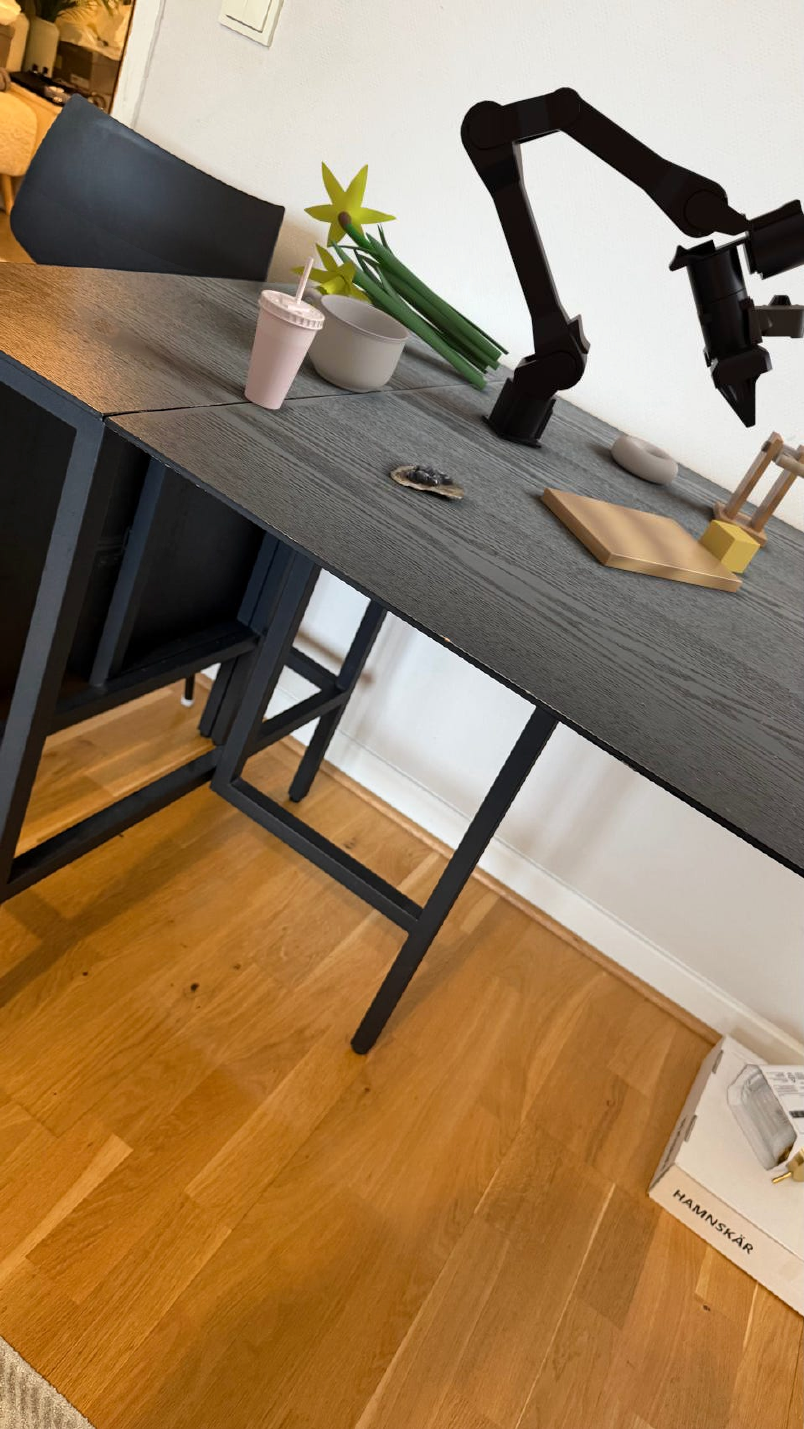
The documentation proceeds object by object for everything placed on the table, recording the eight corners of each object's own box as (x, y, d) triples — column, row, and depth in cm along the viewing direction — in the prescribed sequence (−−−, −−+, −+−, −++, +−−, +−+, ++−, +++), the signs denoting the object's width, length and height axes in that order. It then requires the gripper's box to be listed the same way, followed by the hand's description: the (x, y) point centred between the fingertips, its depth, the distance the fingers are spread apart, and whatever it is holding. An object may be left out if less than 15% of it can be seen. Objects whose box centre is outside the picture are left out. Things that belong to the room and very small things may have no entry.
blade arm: (809, 487, 117) (821, 469, 116) (773, 469, 117) (784, 451, 116) (793, 470, 127) (804, 453, 126) (760, 453, 127) (770, 436, 126)
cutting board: (603, 565, 96) (611, 553, 95) (539, 498, 106) (546, 486, 105) (735, 593, 107) (743, 582, 106) (666, 529, 116) (673, 519, 115)
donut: (606, 465, 130) (672, 495, 131) (618, 442, 129) (685, 473, 129) (606, 447, 139) (668, 476, 139) (618, 425, 137) (680, 454, 137)
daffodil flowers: (476, 410, 129) (263, 231, 119) (443, 430, 143) (251, 271, 133) (545, 311, 130) (339, 125, 120) (506, 340, 144) (319, 176, 134)
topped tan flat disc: (473, 508, 94) (481, 491, 93) (408, 497, 90) (416, 479, 89) (440, 475, 98) (448, 458, 97) (377, 462, 94) (384, 445, 93)
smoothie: (302, 410, 97) (351, 272, 90) (276, 420, 92) (326, 274, 85) (248, 381, 98) (292, 242, 91) (219, 390, 92) (264, 242, 85)
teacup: (400, 401, 114) (426, 336, 110) (351, 404, 106) (378, 334, 101) (312, 347, 118) (335, 283, 114) (258, 346, 109) (280, 276, 105)
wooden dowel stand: (762, 548, 128) (821, 462, 121) (716, 525, 127) (771, 437, 121) (756, 530, 134) (811, 447, 128) (712, 508, 134) (764, 424, 128)
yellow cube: (716, 568, 111) (735, 538, 109) (694, 548, 114) (712, 519, 112) (741, 573, 114) (760, 545, 112) (719, 554, 117) (737, 525, 115)
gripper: (805, 275, 99) (834, 419, 105) (782, 263, 115) (808, 389, 121) (697, 315, 103) (731, 452, 109) (689, 299, 119) (719, 419, 125)
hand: (750, 426), depth 116 cm, fingers closed
